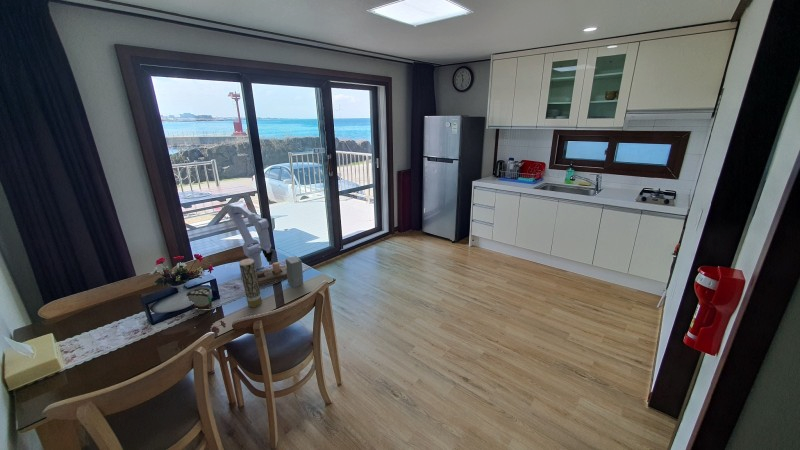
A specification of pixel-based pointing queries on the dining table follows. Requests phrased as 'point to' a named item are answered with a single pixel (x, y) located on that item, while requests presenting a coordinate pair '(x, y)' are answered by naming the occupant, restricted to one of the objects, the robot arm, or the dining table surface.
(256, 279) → the paper tube
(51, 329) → the dining table surface
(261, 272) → the bore board
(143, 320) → the dining table surface
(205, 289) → the food container
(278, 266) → the pin
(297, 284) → the skincare box
